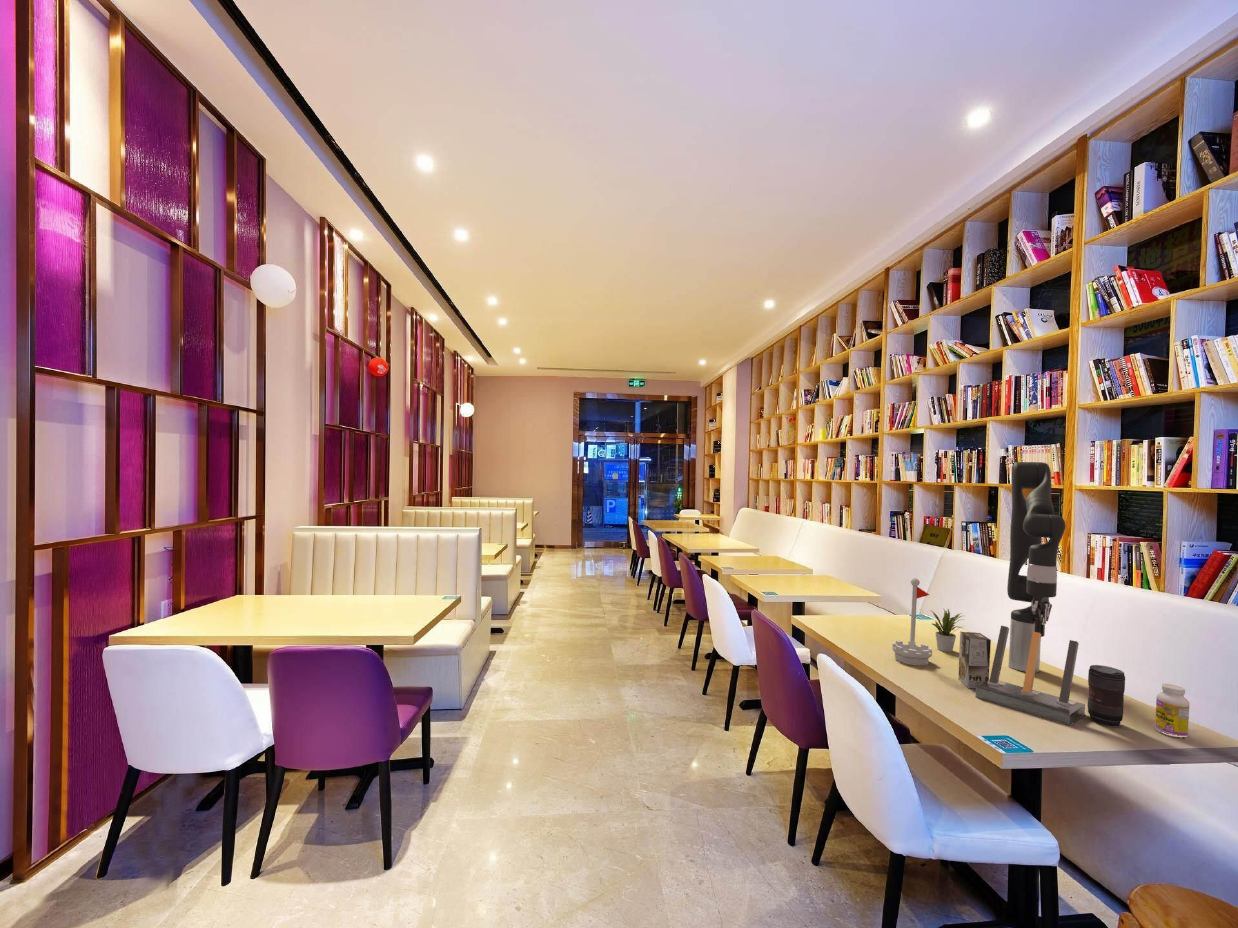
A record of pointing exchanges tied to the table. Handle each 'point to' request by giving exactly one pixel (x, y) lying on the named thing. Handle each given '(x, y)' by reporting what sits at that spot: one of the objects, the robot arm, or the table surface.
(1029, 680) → the lever mid
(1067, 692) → the lever high
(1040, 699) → the breaker panel
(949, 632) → the house plant
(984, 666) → the coffee box
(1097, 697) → the camera lens
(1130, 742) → the table surface
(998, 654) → the lever low
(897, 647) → the flag stand
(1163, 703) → the supplement bottle
